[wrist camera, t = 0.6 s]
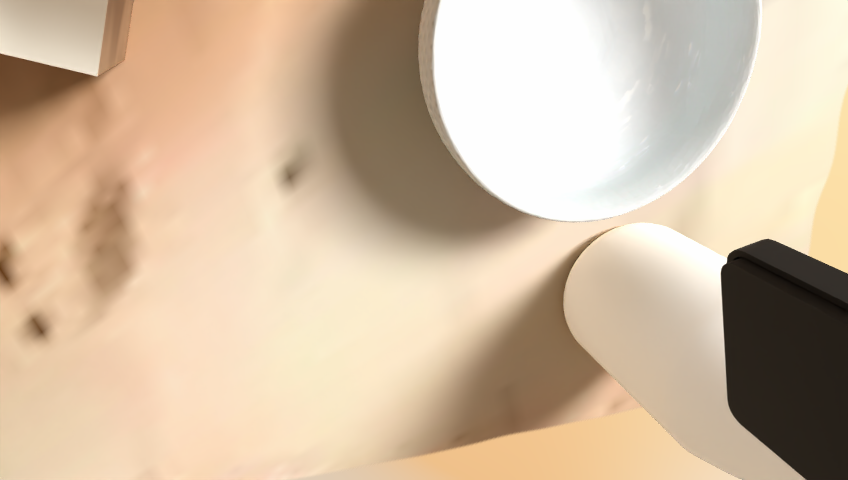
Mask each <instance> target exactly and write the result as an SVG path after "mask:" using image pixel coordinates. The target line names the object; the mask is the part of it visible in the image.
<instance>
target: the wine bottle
mask: <svg viewBox="0 0 848 480" xmlns="http://www.w3.org/2000/svg"><path fill="white" fill-rule="evenodd" d="M726 263H727V258H725V257H723V256H721V255H719V254H717V253H715V252H714V251H712V250H710V249H708V248H706V247H704V246H702V245H700V244H698V243H697V242H695V241H693V240H691V239H689V238H687V237H685V236H683V235H681V234H680V233H678V232H676V231H674V230H672V229H670V228H668V227H666V226H662V225H658V224H652V223H633V224H627V225H623V226H620V227H617V228H615V229H612V230H610V231H608V232H607V233H605V234H603V235H601V236H600V237H599V238H597V239H596V240H595V241H593V242H592V243H591V244H590V245H589V246H588V247H587V248H586V249H585V250H584V251H583V252H582V254H581V255H580V256H579V258H578V259H577V260H576V262H575V264H574V266H573V267H572V269H571V271H570V273H569V276H568V279H567V281H566V285H565V290H564V300H563V307H564V314H565V319H566V321H567V324H568V327H569V329H570V331H571V333H572V335H573V336H574V338H575V340H576V341H577V342H578V343H579V344H580V345H581V346H582V347H583V348H584V349H585V350H586V351H587V352H588V353H589V354H590V355H591V356H592V357H593V358H594V359H595V360H596V361H597V362H598V363H599V364H600V365H601V366H602V367H603V368H604V369H605V370H606V371H607V372H608V373H609V374H610V375H611V376H612V377H613V378H614V379H615V380H616V381H617V382H618V383H619V384H620V385H621V386H622V387H623V388H624V389H625V390H626V391H627V392H628V393H629V394H630V395H631V396H632V397H633V398H634V399H635V400H636V401H637V402H638V403H639V404H640V405H641V406H642V407H643V408H644V409H645V410H646V411H647V412H648V413H649V414H650V415H651V416H652V417H653V418H654V419H655V420H656V421H657V422H658V423H659V424H660V425H661V426H662V427H663V428H664V429H665V430H666V431H667V432H668V433H669V434H670V435H671V436H672V437H673V438H674V439H675V440H676V441H677V442H678V443H679V444H680V445H681V446H682V447H683V448H684V449H686V450H687V451H689V452H690V453H692V454H693V455H695V456H697V457H698V458H700V459H702V460H704V461H706V462H708V463H710V464H712V465H714V466H715V467H717V468H719V469H721V470H723V471H725V472H727V473H728V474H731V475H733V476H735V477H737V478H740V479H742V480H806V479H805V478H803V477H802V476H801V475H800V474H799V473H797V472H796V471H795V470H794V469H793V468H791V467H790V466H789V465H788V464H787V463H786V462H784V461H783V460H782V459H781V458H780V457H778V456H777V455H776V454H775V453H774V452H773V451H771V450H770V449H769V448H768V447H767V446H765V445H764V444H763V443H762V442H761V441H759V440H758V439H757V438H756V437H755V436H754V435H752V434H751V433H750V432H749V431H748V430H746V429H745V428H744V427H743V426H742V425H741V424H740V423H739V422H738V421H737V420H736V419H735V418H734V416H733V414H732V413H731V411H730V408H729V406H728V401H727V385H726V366H725V348H724V329H723V311H722V292H721V268H722V266H723V265H724V264H726Z"/></svg>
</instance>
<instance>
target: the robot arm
mask: <svg viewBox="0 0 848 480" xmlns="http://www.w3.org/2000/svg"><path fill="white" fill-rule="evenodd" d="M721 292H722V311H723V329H724V348H725V366H726V385H727V401H728V406H729V408H730V411H731V413H732V414H733V416H734V418H735V419H736V420H737V421H738V422H739V423H740V424H741V425H742V426H743V427H744V428H745V429H746V430H748V431H749V432H750V433H751V434H752V435H754V436H755V437H756V438H757V439H758V440H759V441H761V442H762V443H763V444H764V445H765V446H767V447H768V448H769V449H770V450H771V451H773V452H774V453H775V454H776V455H777V456H778V457H780V458H781V459H782V460H783V461H784V462H786V463H787V464H788V465H789V466H790V467H791V468H793V469H794V470H795V471H796V472H797V473H799V474H800V475H801V476H802V477H803V478H805V479H806V480H848V274H847V273H845V272H843V271H841V270H838V269H836V268H834V267H832V266H829V265H827V264H825V263H823V262H821V261H818V260H816V259H814V258H812V257H810V256H807V255H805V254H803V253H801V252H798V251H796V250H794V249H792V248H790V247H787V246H785V245H783V244H781V243H779V242H776V241H774V240H770V239H765V240H761V241H758V242H755V243H753V244H750V245H747V246H744V247H742V248H739V249H736V250H734V251H732V252H731V253H730V254H729V255H728V258H727V263H726V264H724V265H723V266H722V268H721Z"/></svg>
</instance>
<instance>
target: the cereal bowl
mask: <svg viewBox="0 0 848 480" xmlns="http://www.w3.org/2000/svg"><path fill="white" fill-rule="evenodd" d="M761 20H762V0H425V1H424V7H423V10H422V13H421V22H420V25H419V30H420V32H419V36H418V40H419V46H418V52H419V55H418V61H419V66H420V67H419V73H420V81H421V84H422V88H423V94H424V98H425V102H426V105H427V108H428V112H429V114H430V116H431V119H432V121H433V124H434V126H435V128H436V130H437V132H438V134H439V135H440V138H441V141H442V142H443V143H444V144H445V146H446V148H447V149H448V151H449V153H451V155H452V157H453V158H454V159H455V160H456V161H457V163H458V164H459V166H460V167H461V168H462V169H464V171H465V172H466V173H467V174H468V175H469V177H470V178H472V179H473V180H474V181H475V182H476V183H477V184H478V185H479V186H480V187H482V189H484V190H486V191H487V193H488V194H490V195H492V196H493V197H495V198H497V199H499V200H500V201H501V202H502V203H503V204H506V205H508V206H510V207H512V208H514V209H516V210H518V211H520V212H522V213H525V214H528V215H531V216H535V217H538V218H543V219H548V220H553V221H560V222H590V221H598V220H604V219H608V218H612V217H615V216H619V215H622V214H625V213H628V212H630V211H633V210H635V209H638V208H640V207H642V206H644V205H646V204H648V203H650V202H652V201H654V200H656V199H658V198H659V197H661V196H662V195H664V194H666V193H667V192H669V191H670V190H672V189H673V188H674V187H676V186H677V185H678V184H679V183H681V182H682V181H683V180H684V179H686V178H687V177H688V176H689V175H690V174H691V173H692V172H693V171H694V170H695V169H696V168H697V167H698V166H699V165H700V164H701V163H702V162H703V161H704V160H705V159H706V157H707V156H708V155H709V154H710V152H711V151H712V150H713V149H714V147H715V146H716V145H717V143H718V142H719V140H720V139H721V137H722V136H723V134H724V133H725V131H726V130H727V128H728V127H729V125H730V123H731V121H732V119H733V117H734V116H735V114H736V112H737V110H738V107H739V105H740V103H741V101H742V99H743V96H744V94H745V91H746V89H747V86H748V84H749V81H750V78H751V74H752V71H753V67H754V64H755V60H756V55H757V51H758V45H759V40H760V34H761Z"/></svg>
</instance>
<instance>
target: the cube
mask: <svg viewBox="0 0 848 480" xmlns="http://www.w3.org/2000/svg"><path fill="white" fill-rule="evenodd" d="M133 1H134V0H0V53H1V54H5V55H9V56H14V57H18V58H22V59H26V60H30V61H35V62H39V63H43V64H47V65H51V66H56V67H60V68H64V69H68V70H72V71H76V72H81V73H85V74H89V75H93V76H99V75H100V74H102V73H104V72H105V71H107V70H109V69H110V68H112V67H114V66H115V65H117V64H119V63H121V62H122V61H124V60H125V54H126V48H127V41H128V34H129V28H130V21H131V14H132V8H133Z"/></svg>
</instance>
